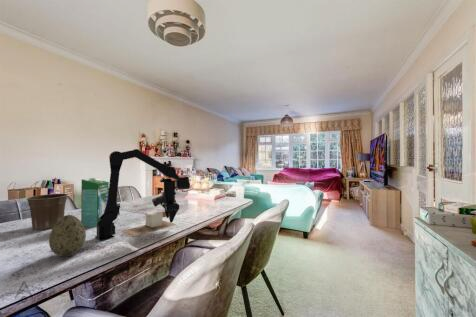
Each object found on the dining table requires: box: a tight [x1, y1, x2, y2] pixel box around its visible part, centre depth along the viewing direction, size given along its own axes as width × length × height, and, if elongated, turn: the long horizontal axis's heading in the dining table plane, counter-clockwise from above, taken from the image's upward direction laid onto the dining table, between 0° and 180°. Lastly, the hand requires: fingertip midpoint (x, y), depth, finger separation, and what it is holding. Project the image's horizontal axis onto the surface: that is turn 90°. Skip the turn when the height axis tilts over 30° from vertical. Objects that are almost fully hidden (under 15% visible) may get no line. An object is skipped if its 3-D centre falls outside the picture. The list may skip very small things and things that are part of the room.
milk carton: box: [80, 177, 110, 228], centre depth 117 cm, size 9×9×25 cm
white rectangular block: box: [144, 210, 166, 228], centre depth 114 cm, size 11×6×6 cm, turn 142°
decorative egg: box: [48, 214, 87, 257], centre depth 80 cm, size 11×11×15 cm
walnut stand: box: [121, 219, 177, 238], centre depth 109 cm, size 23×12×5 cm, turn 143°
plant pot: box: [26, 193, 69, 231], centre depth 112 cm, size 16×16×16 cm
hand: (169, 220), depth 112 cm, fingers open, 9 cm apart
